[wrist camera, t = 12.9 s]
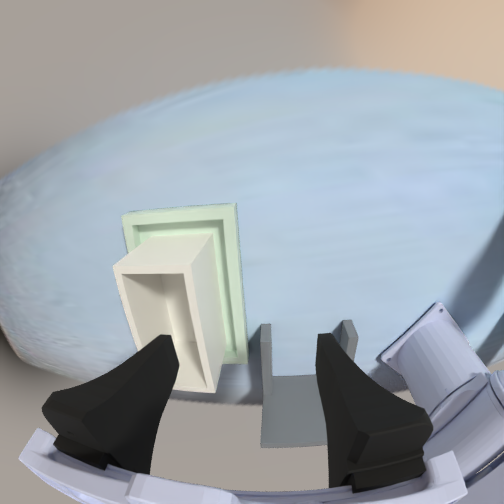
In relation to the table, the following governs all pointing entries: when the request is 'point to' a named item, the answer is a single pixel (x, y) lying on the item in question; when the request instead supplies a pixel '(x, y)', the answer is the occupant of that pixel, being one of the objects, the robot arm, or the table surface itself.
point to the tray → (227, 257)
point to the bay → (295, 399)
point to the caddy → (177, 303)
